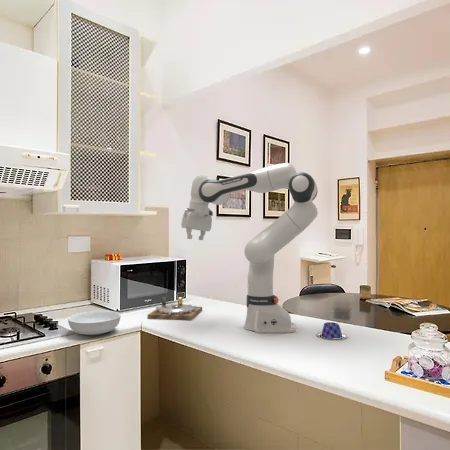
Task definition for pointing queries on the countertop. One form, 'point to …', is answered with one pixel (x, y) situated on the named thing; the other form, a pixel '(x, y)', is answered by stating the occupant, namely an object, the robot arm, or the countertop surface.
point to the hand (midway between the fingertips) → (195, 239)
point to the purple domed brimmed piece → (331, 331)
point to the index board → (174, 316)
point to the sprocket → (176, 308)
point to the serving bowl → (94, 322)
